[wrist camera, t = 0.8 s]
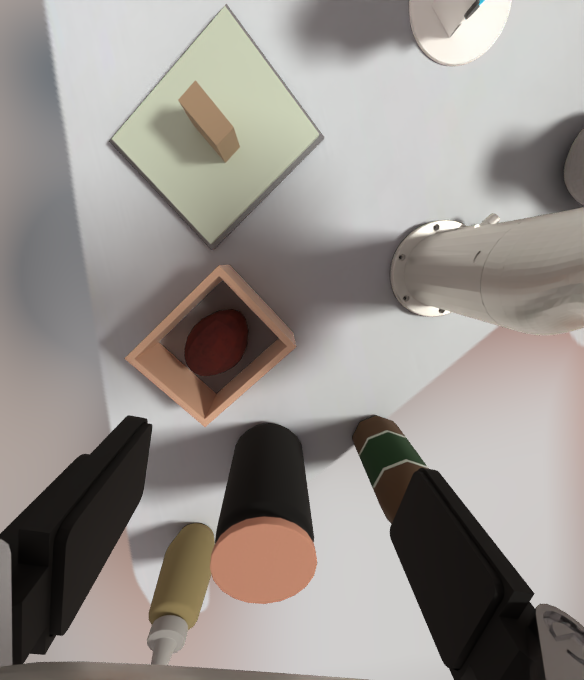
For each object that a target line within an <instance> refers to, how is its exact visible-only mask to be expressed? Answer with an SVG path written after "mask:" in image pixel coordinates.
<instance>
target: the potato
mask: <svg viewBox="0 0 584 680" xmlns="http://www.w3.org/2000/svg"><path fill="white" fill-rule="evenodd" d="M247 340H248V327H247V322H246V319H245V317H244V316H243V315H242V313H241V312H240V311H236V310H233V309H229V310H221V311H218V312H215V313H213V314H211V315H209V316H207V317H205V318H203V319H201V320H200V321H199V322H198V323H197V324H196V325H195V326H194V328H193V329H192V331H191V332H190V334H189V336H188V338H187V341H186V345H185V360H186V363H187V365H188V367H189V368H190V370H191V371H193V372H194V373H195V374H198V375H200V376H211V375H216V374H219V373H222V372H225V371H227V370H229V369H231V368H232V367H234V366H235V365H236V364H237V363H238V362H239V361H240V360H241V358H242V356H243V354H244V352H245V349H246V347H247Z"/></svg>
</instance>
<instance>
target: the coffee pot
mask: <svg viewBox="0 0 584 680" xmlns="http://www.w3.org/2000/svg"><path fill="white" fill-rule="evenodd" d="M563 173H564V182H565V184H566V187H567V189H568V191H569V193H570V194H571V195H572V196H573V198H574V199H575V200H576V201H577V202H579V203H580V204H582V205H583V206H584V128H583V129H582V131H581V132H580V133H579V134H578V136H577V138H576V139H575V141H574V142H573V144H572V146H571V148H570V151H569V153H568V156H567V159H566V161H565V165H564V171H563Z"/></svg>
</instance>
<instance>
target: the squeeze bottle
mask: <svg viewBox="0 0 584 680" xmlns="http://www.w3.org/2000/svg"><path fill="white" fill-rule="evenodd" d="M214 546H215V541H214V534H213V532H212V530H211V529H210V528H209V527H208V526H206V525H203V524H201V523H193V524H189V525H187V526H185V527H184V528H182V530H181V531H180V532H179V534H178V535H177V536H176V537H175V539H174V540H173V541H172V543H171V544H170V545H169V547H168V549H167V551H166V553H165V556H164V560H163V564H162V567H161V571H160V574H159V578H158V582H157V585H156V589H155V592H154V596H153V600H152V603H151V607H150V610H149V621H150V622H151V624H152V627H151V629H150V632H149V636H148V638H147V644H148V646H149V648H150V649H151V650H152V651H153V656H152V662H151V665H168V663H169V660H170V658H171V656H172V654H173V653H176V652H178V651H179V650H181V649H182V647H183V646H184V644H185V640H186V636H187V632H188V630H189V629H190V628H192V627H193V626H194V625H195V623H196V622H197V620H198V616H199V613H200V610H201V607H202V603H203V600H204V597H205V593H206V590H207V587H208V584H209V580H210V577H211V570H210V561H211V554H212V550H213V547H214Z"/></svg>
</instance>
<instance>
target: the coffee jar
mask: <svg viewBox="0 0 584 680" xmlns="http://www.w3.org/2000/svg"><path fill="white" fill-rule="evenodd" d="M313 542H314V534H313V526H312V519H311V511H310V504H309V496H308V489H307V481H306V474H305V467H304V459H303V452H302V446H301V443H300V441H299V440H298V438H297V436H296V435H295V434H294V433H292V432H291V431H290V430H289V429H287V428H285V427H283V426H281V425H277V424H269V423H268V424H262V425H257V426H255V427H253V428H251V429H249V430H248V431H247V432H245V433H244V434H243V435H242V436H241V437H240V439H239V440H238V442H237V444H236V446H235V450H234V455H233V459H232V464H231V468H230V473H229V477H228V482H227V486H226V490H225V495H224V499H223V504H222V508H221V513H220V517H219V522H218V526H217V531H216V539H215V546H214V547H213V550H212V554H211V561H210V570H211V574H212V577H213V580H214V581H215V583H216V584H217V585H218V586H219V588H220V589H221V590H222V591H223V592H225V593H226V594H228V595H230V596H231V597H233V598H235V599H238V600H241V601H244V602H248V603H261V604H266V603H273V602H278V601H282V600H285V599H287V598H289V597H292V596H294V595H296V594H297V593H298V592H300V591H301V590H302V589H303V588H305V587H306V586H307V585H308V583H309V582H310V580H311V579H312V578H313V576H314V573H315V569H316V565H317V558H316V551H315V547H314V543H313Z"/></svg>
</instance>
